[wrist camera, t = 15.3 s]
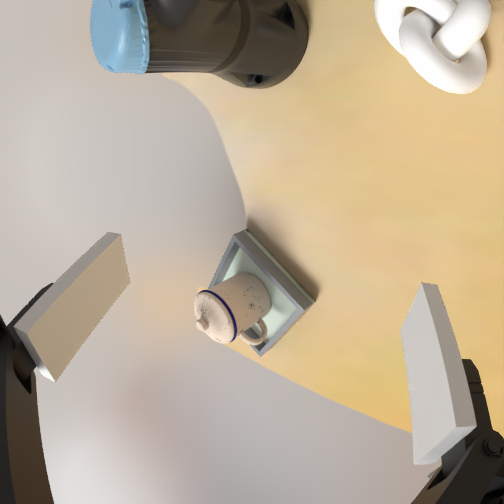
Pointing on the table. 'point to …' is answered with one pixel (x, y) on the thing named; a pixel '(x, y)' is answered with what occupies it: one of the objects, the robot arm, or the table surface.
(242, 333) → the teacup with lid
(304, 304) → the tray
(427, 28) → the white knot sculpture
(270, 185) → the table surface
